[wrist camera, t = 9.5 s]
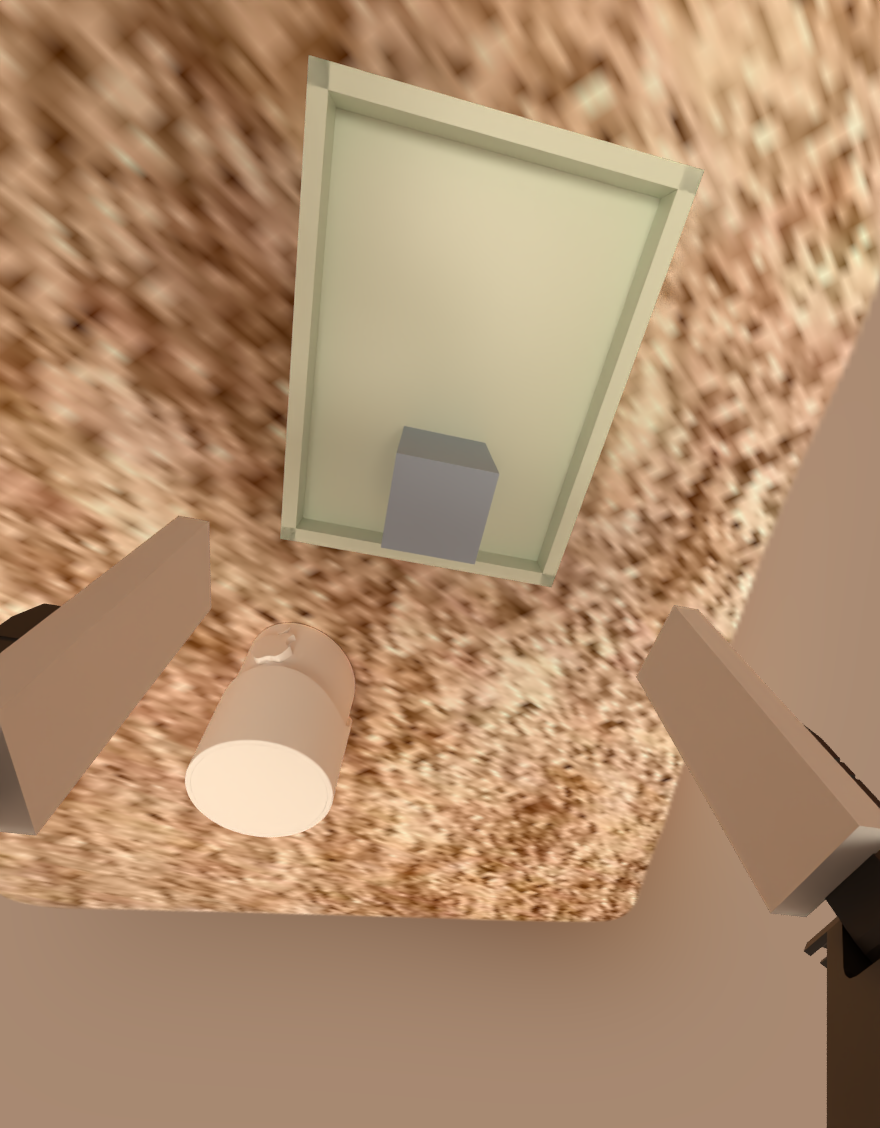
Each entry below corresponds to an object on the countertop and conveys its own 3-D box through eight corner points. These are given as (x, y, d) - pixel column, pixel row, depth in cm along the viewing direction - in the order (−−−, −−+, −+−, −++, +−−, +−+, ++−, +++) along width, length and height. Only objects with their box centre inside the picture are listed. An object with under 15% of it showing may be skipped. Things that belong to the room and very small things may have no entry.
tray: (321, 82, 19) (308, 54, 17) (678, 185, 21) (704, 170, 19) (290, 523, 28) (280, 538, 26) (543, 570, 30) (551, 587, 28)
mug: (151, 739, 23) (306, 719, 23) (225, 630, 32) (340, 614, 31) (235, 876, 29) (362, 862, 28) (280, 752, 37) (378, 740, 36)
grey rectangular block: (391, 503, 27) (380, 547, 22) (404, 425, 25) (396, 452, 20) (466, 518, 27) (474, 564, 22) (485, 442, 25) (499, 473, 20)
